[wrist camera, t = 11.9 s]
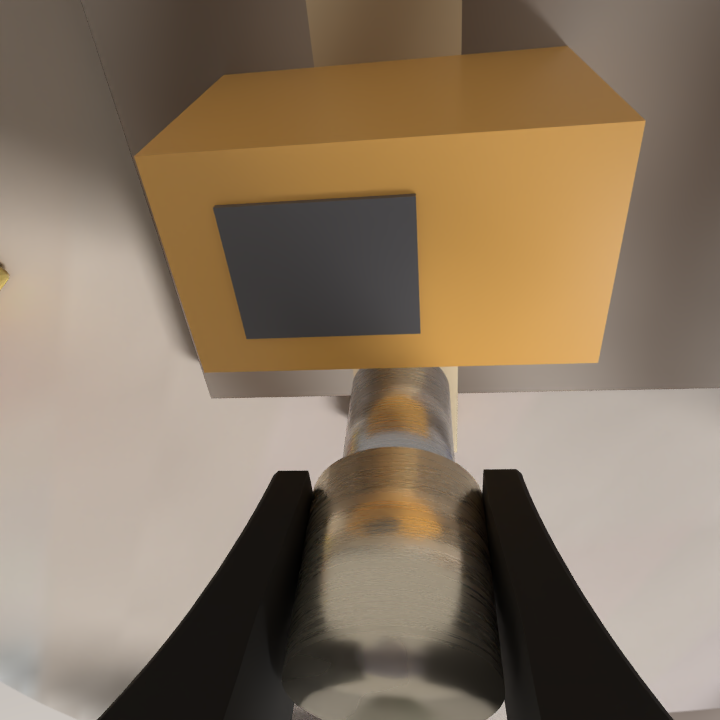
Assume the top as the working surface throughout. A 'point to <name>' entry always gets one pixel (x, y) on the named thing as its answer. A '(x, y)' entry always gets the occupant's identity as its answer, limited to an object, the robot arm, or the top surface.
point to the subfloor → (472, 36)
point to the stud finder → (397, 212)
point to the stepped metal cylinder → (396, 568)
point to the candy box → (3, 277)
